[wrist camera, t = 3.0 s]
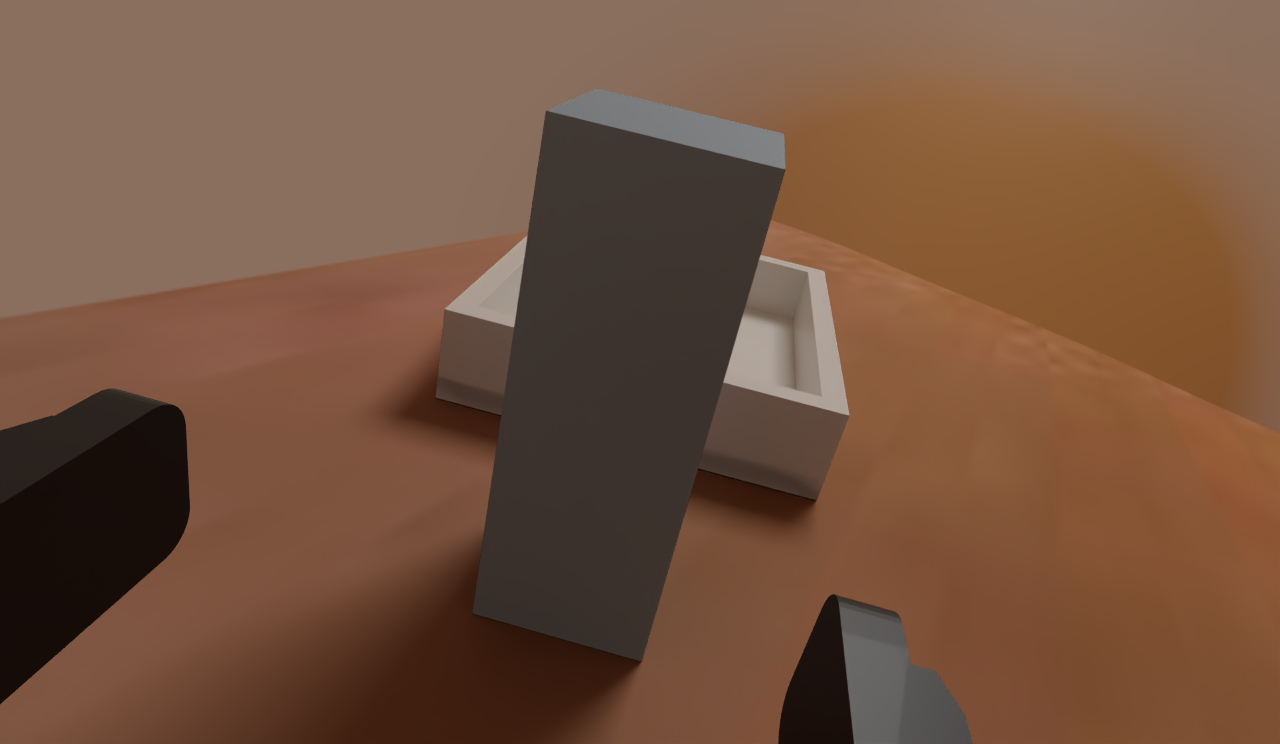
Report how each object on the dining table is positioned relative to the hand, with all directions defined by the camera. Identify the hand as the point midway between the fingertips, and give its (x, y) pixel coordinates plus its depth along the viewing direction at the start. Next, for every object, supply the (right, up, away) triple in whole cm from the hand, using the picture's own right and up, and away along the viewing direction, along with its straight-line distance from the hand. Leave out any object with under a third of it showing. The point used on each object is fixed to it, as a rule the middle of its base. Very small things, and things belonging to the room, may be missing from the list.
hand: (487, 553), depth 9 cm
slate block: (0, -4, +15) cm, 15 cm away
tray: (+3, +3, +30) cm, 30 cm away
